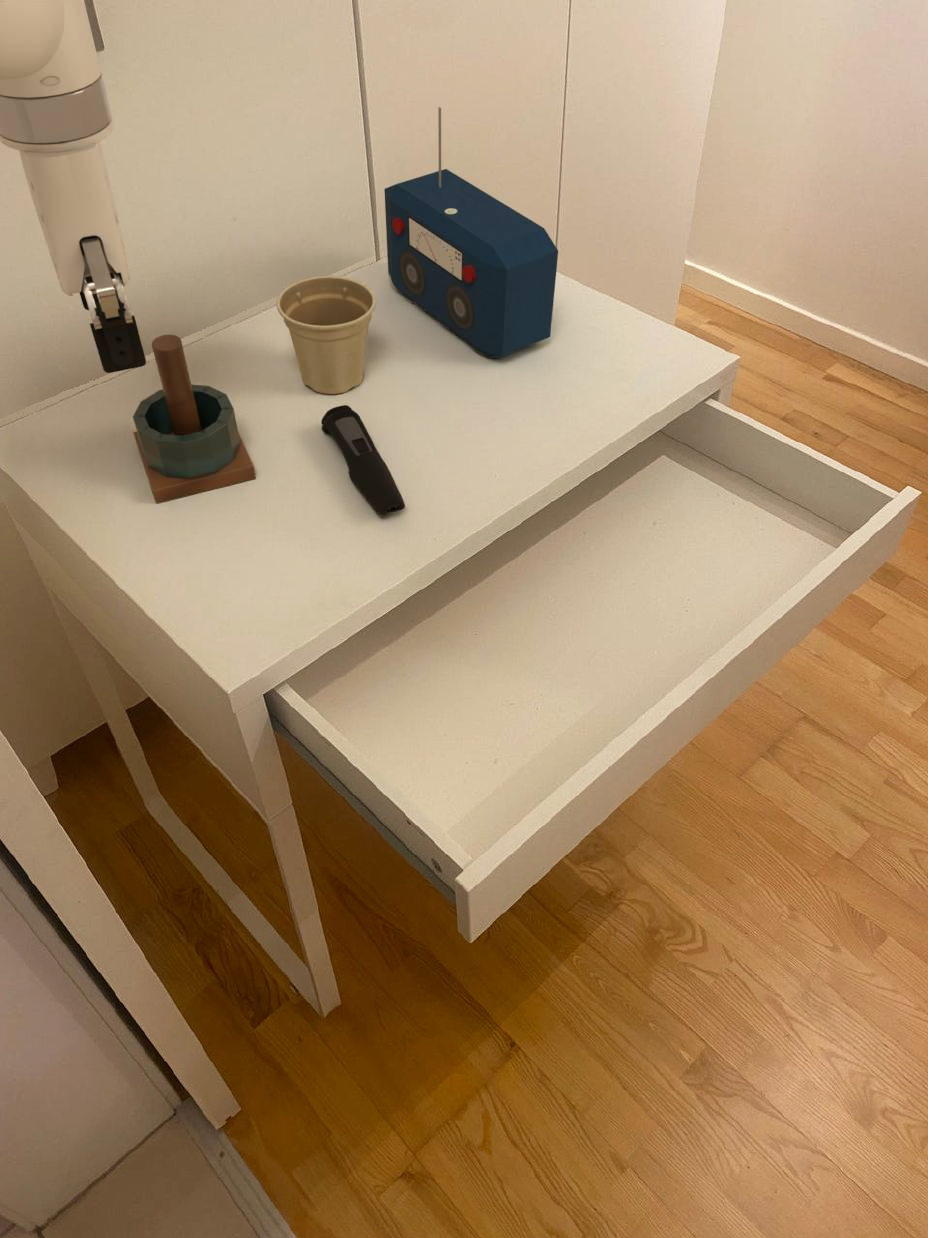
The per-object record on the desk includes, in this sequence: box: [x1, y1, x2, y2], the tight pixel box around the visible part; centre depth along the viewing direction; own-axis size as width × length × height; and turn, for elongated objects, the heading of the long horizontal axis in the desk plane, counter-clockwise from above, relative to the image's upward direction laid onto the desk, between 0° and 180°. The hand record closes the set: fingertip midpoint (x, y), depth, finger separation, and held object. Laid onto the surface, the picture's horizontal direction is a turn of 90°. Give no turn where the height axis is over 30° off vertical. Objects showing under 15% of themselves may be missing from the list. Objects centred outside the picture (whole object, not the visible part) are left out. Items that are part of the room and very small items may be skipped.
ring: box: [132, 384, 240, 479], centre depth 86 cm, size 8×8×4 cm
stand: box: [132, 334, 257, 504], centre depth 84 cm, size 9×9×12 cm
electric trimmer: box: [320, 404, 406, 516], centre depth 87 cm, size 4×16×3 cm, turn 23°
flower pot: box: [276, 275, 377, 395], centre depth 94 cm, size 9×9×9 cm
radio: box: [383, 106, 559, 359], centre depth 98 cm, size 21×9×20 cm, turn 37°
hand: (114, 335), depth 77 cm, fingers open, 9 cm apart
